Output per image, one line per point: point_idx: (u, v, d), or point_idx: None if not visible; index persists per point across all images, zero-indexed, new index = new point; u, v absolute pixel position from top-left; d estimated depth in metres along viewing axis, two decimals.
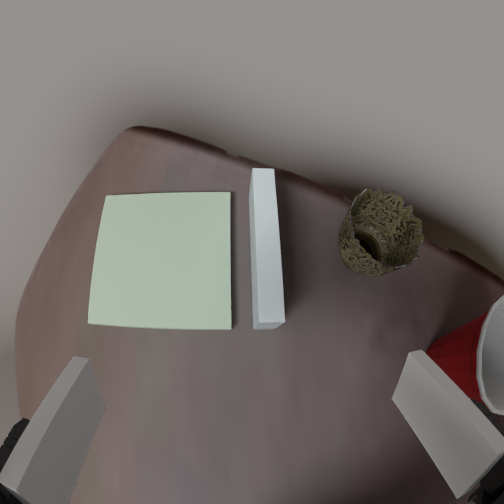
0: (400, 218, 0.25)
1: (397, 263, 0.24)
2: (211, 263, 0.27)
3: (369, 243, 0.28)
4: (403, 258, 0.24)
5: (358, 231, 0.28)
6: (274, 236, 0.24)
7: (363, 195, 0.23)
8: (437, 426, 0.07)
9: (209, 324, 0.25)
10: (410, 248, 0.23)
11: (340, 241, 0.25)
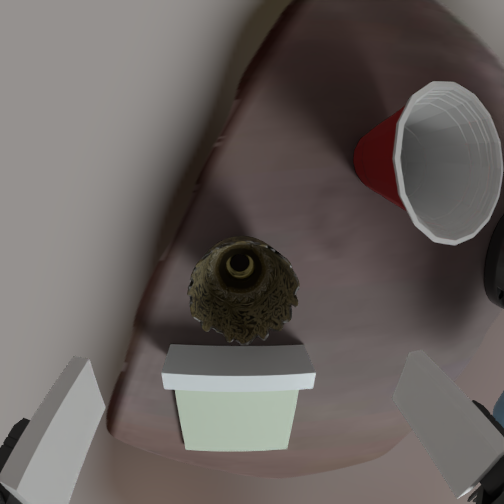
0: (218, 246, 0.20)
1: (275, 254, 0.21)
2: None
3: (230, 255, 0.24)
4: None
5: (216, 269, 0.24)
6: (238, 379, 0.24)
7: (198, 315, 0.20)
8: (437, 426, 0.07)
9: (295, 390, 0.30)
10: None
11: None
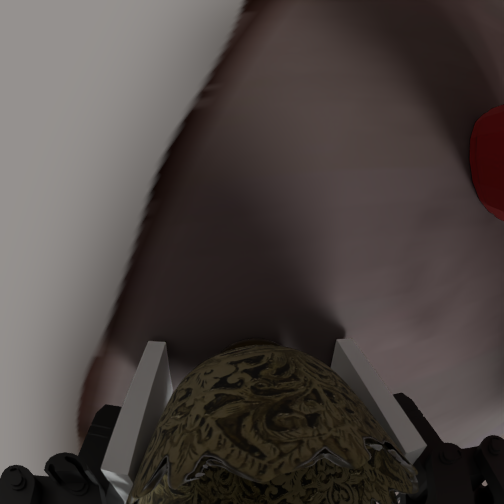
0: None
1: None
2: None
3: None
4: None
5: None
6: None
7: None
8: None
9: None
10: (344, 419, 0.05)
11: (259, 484, 0.09)
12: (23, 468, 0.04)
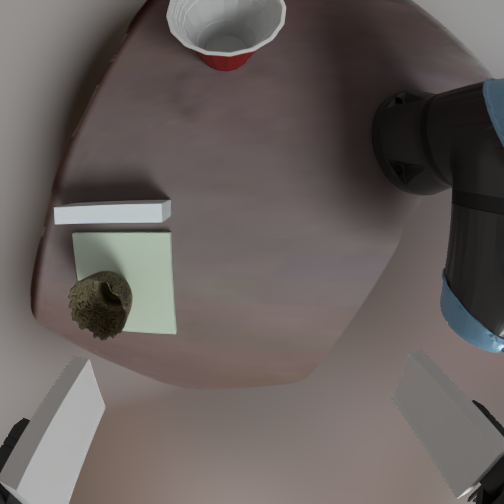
0: (85, 279, 0.29)
1: None
2: (124, 247, 0.34)
3: None
4: None
5: (99, 290, 0.33)
6: (102, 208, 0.28)
7: (77, 319, 0.28)
8: (437, 426, 0.07)
9: (166, 248, 0.35)
10: (108, 280, 0.29)
11: None
12: None
